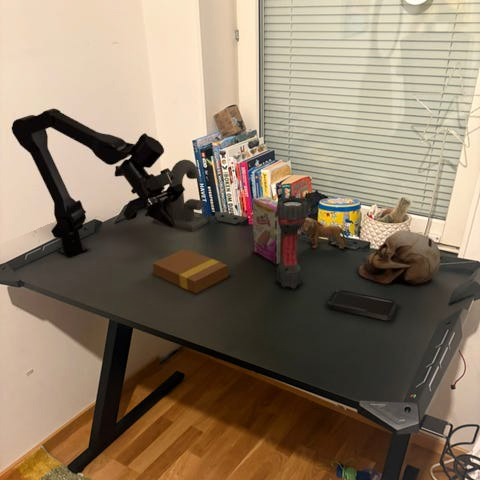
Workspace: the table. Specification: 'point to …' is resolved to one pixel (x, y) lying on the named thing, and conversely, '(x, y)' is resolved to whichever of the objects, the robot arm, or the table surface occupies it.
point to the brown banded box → (190, 270)
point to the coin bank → (403, 259)
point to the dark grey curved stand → (179, 209)
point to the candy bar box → (266, 228)
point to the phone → (362, 304)
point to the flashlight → (290, 238)
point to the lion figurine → (322, 232)
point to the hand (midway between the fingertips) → (173, 226)
